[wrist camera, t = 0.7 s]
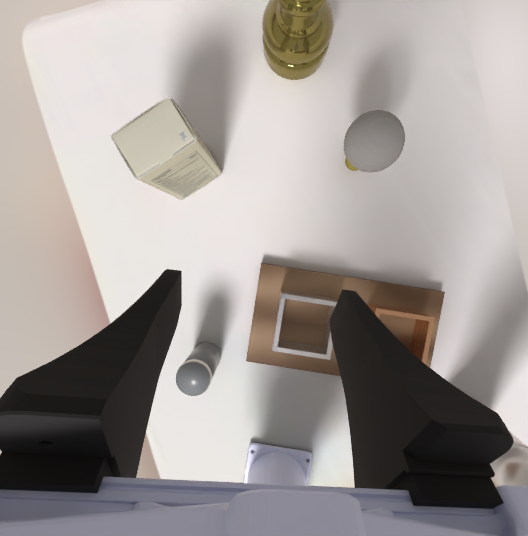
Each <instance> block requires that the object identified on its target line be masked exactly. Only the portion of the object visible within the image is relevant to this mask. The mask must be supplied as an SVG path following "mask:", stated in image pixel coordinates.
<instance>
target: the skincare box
mask: <svg viewBox="0 0 528 536" xmlns="http://www.w3.org/2000/svg"><path fill="white" fill-rule="evenodd" d="M111 138H112V140H113V142H114V143H115V145H116V147H117V149H118V150H119V152H120V154H121V156H122V157H123V159H124V161H125V162H126V164H127V166H128V168H129V169H130V171H131V172H132V174H133V176H134V177H135V178H136V179H138V180H140V181H142V182H144V183H146V184H149V185H151V186H153V187H155V188H157V189H159V190H161V191H164V192H166V193H168V194H170V195H172V196H174V197H176V198H178V199H181V200H182V199H184V198H186V197H187V196H189V195H191V194H192V193H194V192H195V191H197V190H199V189H200V188H202V187H203V186H205V185H206V184H208V183H209V182H211V181H212V180H214V179H215V178H217V177H218V176H219V175H221V174H222V171H221V170H220V168H219V166H218V164H217V163H216V161H215V159H214V158H213V156H212V154H211V153H210V151H209V150H208V148H207V147H206V145H205V144H204V142H203V141H202V139H201V138H200V137H199V135H198V134H197V132H196V131H195V129H194V128H193V127H192V125H191V124H190V122H189V121H188V120H187V118H186V117H185V115H184V114H183V113H182V111H181V110H180V108H179V107H178V106H177V104H176V103H175V101H174V100H173V99H172V98H171V97H170V96H168V97H167V98H165V99H163V100H161V101H160V102H158V103H156V104H155V105H153V106H152V107H150V108H149V109H147V110H146V111H144V112H143V113H141V114H140V115H138V116H137V117H136V118H134V119H133V120H131V121H130V122H129V123H127V124H126V125H124V126H123V127H122V128H120V129H119V130H118V131H116V132H115V133H113V134H112V135H111Z"/></svg>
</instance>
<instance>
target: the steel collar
mask: <svg viewBox="0 0 528 536" xmlns="http://www.w3.org/2000/svg"><path fill="white" fill-rule="evenodd" d="M285 299H291V300H297V301H304V302H310V303H316V304H323V305H329V307H328V313H327V319H326V325H325V331H324V337H323V343H322V346H316V345H310V344H303V343H297V342H291V341H284V340H279V334H280V328H281V322H282V316H283V309H284V303H285ZM336 304H337V300H336V299H335V298H329V297H323V296H316V295H310V294H303V293H297V292H291V291H284V290H280V296H279V302H278V309H277V315H276V321H275V327H274V334H273V340H272V351H277V352H283V353H289V354H296V355H302V356H308V357H315V358H321V359H327V360H330V358H331V352H332V346H333V344H332V338H331V330H330V318H331V316H332V313H333V311H334V309H335V306H336Z"/></svg>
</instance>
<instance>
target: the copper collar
mask: <svg viewBox="0 0 528 536" xmlns="http://www.w3.org/2000/svg"><path fill="white" fill-rule="evenodd" d="M367 305H368V306H369V308H370V309H371V310H372V311H373V312H374V313H375V315H376V316H377V317H378V318H379V315H380V314H387V315H393V316H399V317H406V318H412V319H416V321H415V326H414V332H413V337H412V342H411V348H410V351H411V352H412V353H413V354H414V355H415V356H416V357H417V358H419V359H420V360H421V361H422V362H423V363H424V364H426V362H427V356H428V351H429V346H430V341H431V335H432V330H433V325H434V320H435V317H433V316H430V315H428V314H425V313H423V312H419V311H412V310H406V309H400V308H393V307H387V306H380V305H374V304H368V303H367Z"/></svg>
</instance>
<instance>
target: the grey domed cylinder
mask: <svg viewBox="0 0 528 536" xmlns="http://www.w3.org/2000/svg"><path fill="white" fill-rule="evenodd" d="M220 358H221V354H220V350H219V349H218V347H217V346H216V345H215V344H213V343H210V342H203V343H200V344H199V345H197V346H196V348H195V349H194V350H193V351H192V353H191V354H190V355H189V357H188V358H187V359H186V361H185V362H184V363H183V364H182V365H181V367H180V368H179V369H178V371H177V374H176V383H177V386H178V388H179V389H180V390H181V391H182V392H183V393H185V394H187V395H190V396H197V395H200V394H202V393H203V392H205V391H206V390H207V389H208V387H209V385H210V383H211V380H212V377H213V375H214V373H215V371H216V368H217V366H218V364H219V362H220Z"/></svg>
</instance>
